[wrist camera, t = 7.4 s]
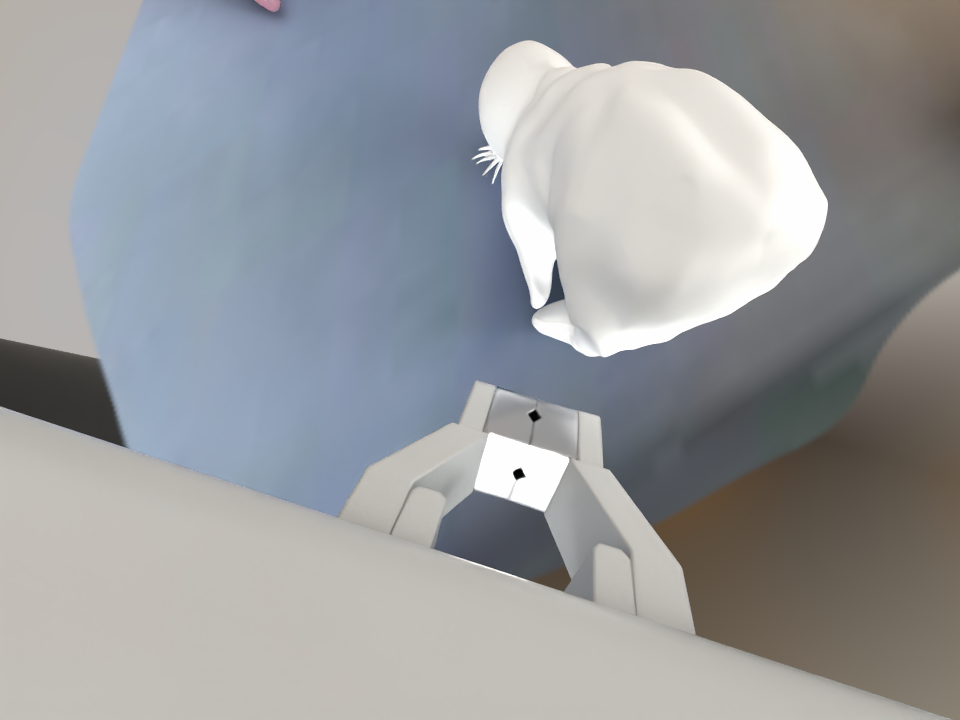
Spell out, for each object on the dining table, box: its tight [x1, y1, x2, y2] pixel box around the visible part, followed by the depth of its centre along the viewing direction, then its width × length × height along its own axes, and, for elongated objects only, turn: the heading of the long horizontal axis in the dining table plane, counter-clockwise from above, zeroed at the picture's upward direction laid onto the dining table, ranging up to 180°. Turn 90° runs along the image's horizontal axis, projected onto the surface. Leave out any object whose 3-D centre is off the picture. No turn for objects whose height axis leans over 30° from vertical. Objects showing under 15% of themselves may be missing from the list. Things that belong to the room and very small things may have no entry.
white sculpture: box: [472, 40, 828, 357], centre depth 13 cm, size 6×8×12 cm
